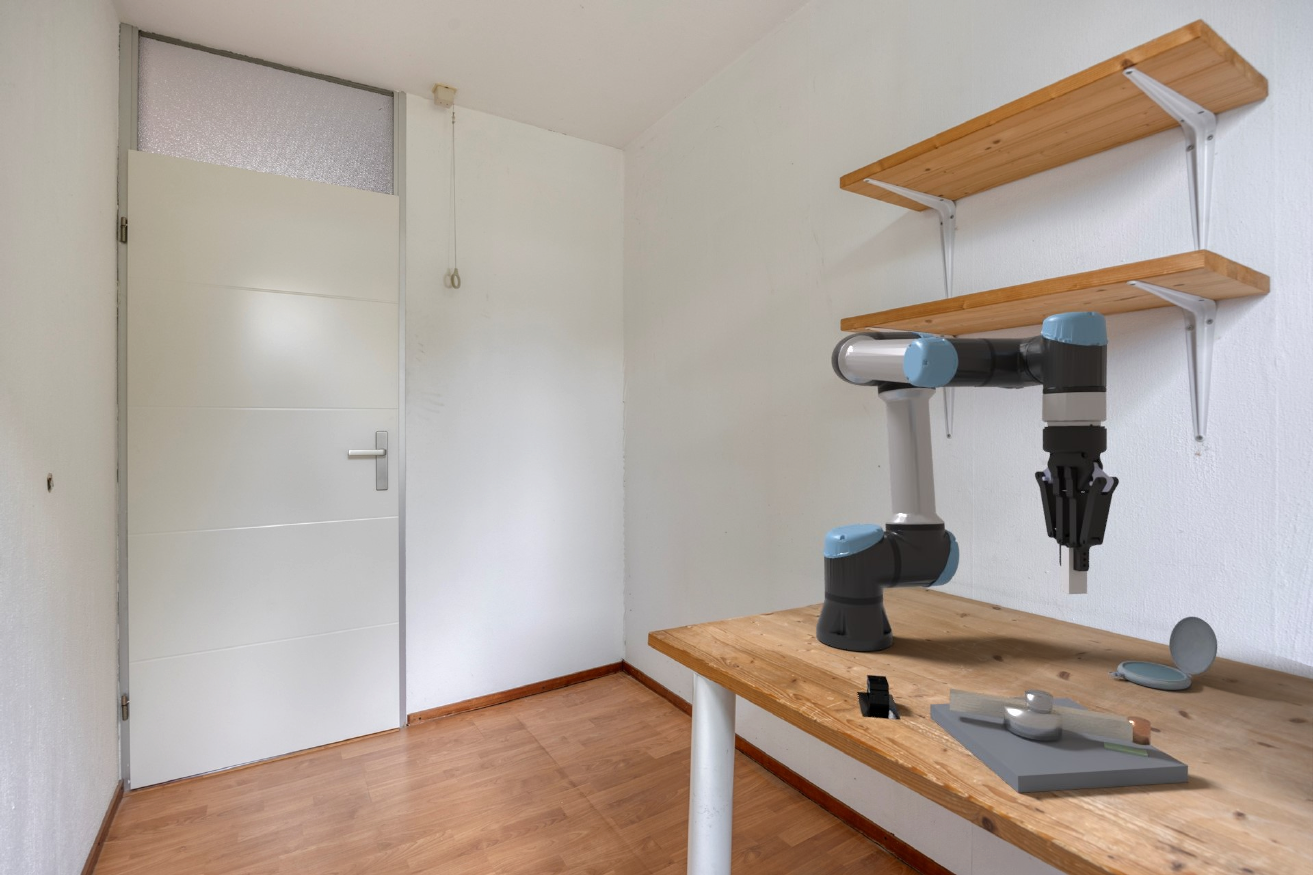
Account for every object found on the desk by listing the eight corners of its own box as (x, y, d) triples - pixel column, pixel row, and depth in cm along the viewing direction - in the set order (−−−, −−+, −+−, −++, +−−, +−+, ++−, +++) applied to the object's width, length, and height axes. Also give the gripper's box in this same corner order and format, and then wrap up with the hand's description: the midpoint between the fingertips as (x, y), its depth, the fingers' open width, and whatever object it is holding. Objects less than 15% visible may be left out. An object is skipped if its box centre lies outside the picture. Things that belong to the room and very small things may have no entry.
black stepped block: (851, 690, 107) (851, 663, 107) (897, 694, 105) (897, 667, 105) (858, 724, 95) (858, 693, 95) (909, 728, 93) (909, 698, 93)
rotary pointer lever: (951, 704, 94) (950, 672, 94) (1144, 737, 84) (1144, 700, 84) (948, 723, 88) (948, 689, 88) (1157, 761, 78) (1157, 722, 78)
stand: (930, 717, 95) (930, 702, 95) (1067, 710, 97) (1067, 696, 97) (1018, 792, 75) (1018, 773, 75) (1187, 781, 77) (1187, 763, 77)
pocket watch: (1225, 626, 103) (1129, 625, 104) (1225, 693, 104) (1129, 691, 105) (1178, 609, 114) (1091, 608, 114) (1178, 670, 114) (1091, 668, 115)
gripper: (1138, 423, 83) (1138, 604, 83) (1064, 424, 96) (1064, 580, 96) (1084, 424, 82) (1084, 606, 82) (1017, 425, 95) (1018, 582, 95)
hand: (1074, 592), depth 89 cm, fingers closed
